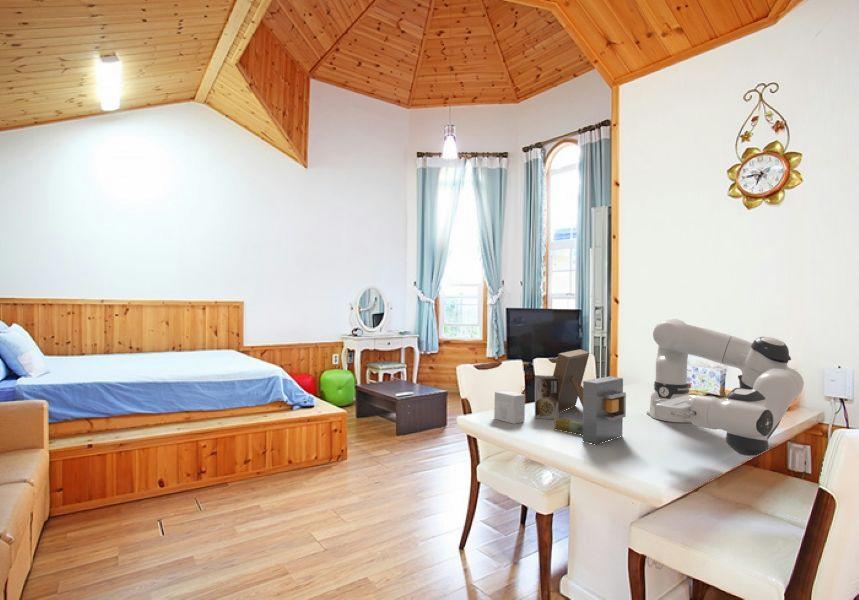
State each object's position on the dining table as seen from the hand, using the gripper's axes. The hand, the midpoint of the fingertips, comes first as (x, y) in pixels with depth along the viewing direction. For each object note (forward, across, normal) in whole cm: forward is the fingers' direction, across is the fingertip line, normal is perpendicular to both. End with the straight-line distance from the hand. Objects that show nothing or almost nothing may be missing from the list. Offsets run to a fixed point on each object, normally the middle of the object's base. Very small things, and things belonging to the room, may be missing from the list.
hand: (654, 402), depth 149 cm
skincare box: (+53, -6, -16) cm, 56 cm away
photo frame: (+46, +25, -16) cm, 55 cm away
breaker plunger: (+18, 0, -6) cm, 18 cm away
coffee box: (+47, +9, -16) cm, 51 cm away
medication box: (+29, -1, -16) cm, 33 cm away
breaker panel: (+16, 0, -16) cm, 22 cm away
